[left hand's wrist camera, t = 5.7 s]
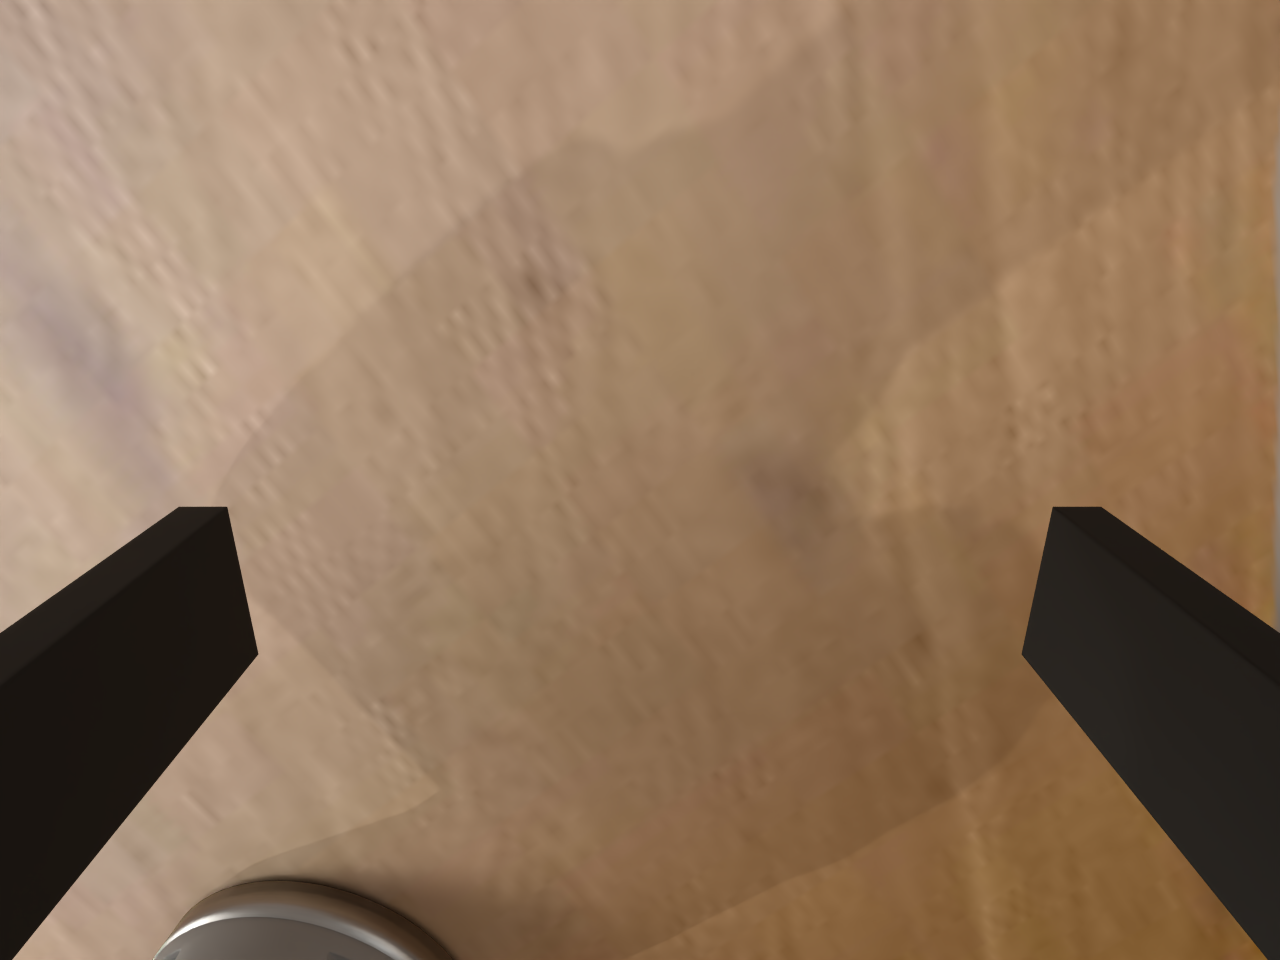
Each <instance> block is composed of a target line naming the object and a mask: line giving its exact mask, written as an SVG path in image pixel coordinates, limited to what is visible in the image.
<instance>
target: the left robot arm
mask: <svg viewBox="0 0 1280 960" xmlns="http://www.w3.org/2000/svg"><path fill="white" fill-rule="evenodd" d="M257 655H258V650H257V646H256V641H255V636H254V631H253V627H252V622H251V617H250V612H249V608H248V603H247V598H246V594H245V589H244V584H243V579H242V575H241V570H240V565H239V561H238V556H237V551H236V546H235V542H234V537H233V532H232V527H231V523H230V518H229V513H228V509H227V507H178V508H177V509H175V510H174V511H172V512H171V513H170V514H168V515H167V516H165V517H164V518H162V519H161V520H160V521H158V522H157V523H155V524H154V525H153V526H151V527H150V528H148V529H147V530H146V531H144V532H143V533H141V534H140V535H138V536H137V537H136V538H134V539H133V540H131V541H130V542H129V543H127V544H126V545H124V546H123V547H121V548H120V549H119V550H117V551H116V552H114V553H113V554H112V555H110V556H109V557H107V558H106V559H105V560H103V561H102V562H100V563H99V564H97V565H96V566H95V567H93V568H92V569H90V570H89V571H88V572H86V573H85V574H83V575H82V576H80V577H79V578H78V579H76V580H75V581H73V582H72V583H71V584H69V585H68V586H66V587H65V588H64V589H62V590H61V591H59V592H58V593H56V594H55V595H54V596H52V597H51V598H49V599H48V600H47V601H45V602H44V603H42V604H41V605H39V606H38V607H37V608H35V609H34V610H32V611H31V612H30V613H28V614H27V615H25V616H24V617H23V618H21V619H20V620H18V621H17V622H15V623H14V624H13V625H11V626H10V627H8V628H7V629H6V630H4V631H3V632H1V633H0V960H12V959H13V958H14V957H15V956H16V954H17V953H18V952H19V951H20V949H21V948H22V947H23V946H24V944H25V943H26V942H27V941H28V939H29V938H30V937H31V936H32V934H33V933H34V932H35V931H36V929H37V928H38V927H39V926H40V924H41V923H42V922H43V921H44V920H45V918H46V917H47V916H48V915H49V913H50V912H51V911H52V910H53V908H54V907H55V906H56V905H57V903H58V902H59V901H60V900H61V898H62V897H63V896H64V895H65V893H66V892H67V891H68V890H69V889H70V887H71V886H72V885H73V884H74V882H75V881H76V880H77V879H78V877H79V876H80V875H81V874H82V872H83V871H84V870H85V869H86V867H87V866H88V865H89V864H90V862H91V861H92V860H93V859H94V858H95V856H96V855H97V854H98V853H99V851H100V850H101V849H102V848H103V846H104V845H105V844H106V843H107V841H108V840H109V839H110V838H111V836H112V835H113V834H114V833H115V831H116V830H117V829H118V828H119V826H120V825H121V824H122V823H123V822H124V820H125V819H126V818H127V817H128V815H129V814H130V813H131V812H132V810H133V809H134V808H135V807H136V805H137V804H138V803H139V802H140V800H141V799H142V798H143V797H144V795H145V794H146V793H147V792H148V791H149V789H150V788H151V787H152V786H153V784H154V783H155V782H156V781H157V779H158V778H159V777H160V776H161V774H162V773H163V772H164V771H165V769H166V768H167V767H168V766H169V764H170V763H171V762H172V761H173V760H174V758H175V757H176V756H177V755H178V753H179V752H180V751H181V750H182V748H183V747H184V746H185V745H186V743H187V742H188V741H189V740H190V738H191V737H192V736H193V735H194V733H195V732H196V731H197V730H198V728H199V727H200V726H201V725H202V724H203V722H204V721H205V720H206V719H207V717H208V716H209V715H210V714H211V712H212V711H213V710H214V709H215V707H216V706H217V705H218V704H219V702H220V701H221V700H222V699H223V697H224V696H225V695H226V694H227V693H228V691H229V690H230V689H231V688H232V686H233V685H234V684H235V683H236V681H237V680H238V679H239V678H240V676H241V675H242V674H243V673H244V671H245V670H246V669H247V668H248V666H249V665H250V664H251V663H252V662H253V660H254V659H255V658H256V657H257ZM1022 655H1023V657H1024V658H1025V659H1026V660H1027V662H1028V663H1029V664H1030V665H1031V666H1032V668H1033V669H1034V670H1035V671H1036V673H1037V674H1038V675H1039V676H1040V678H1041V679H1042V680H1043V681H1044V683H1045V684H1046V685H1047V686H1048V688H1049V689H1050V690H1051V691H1052V693H1053V694H1054V695H1055V696H1056V697H1057V699H1058V700H1059V701H1060V702H1061V704H1062V705H1063V706H1064V707H1065V709H1066V710H1067V711H1068V712H1069V714H1070V715H1071V716H1072V717H1073V719H1074V720H1075V721H1076V722H1077V724H1078V725H1079V726H1080V727H1081V728H1082V730H1083V731H1084V732H1085V733H1086V735H1087V736H1088V737H1089V738H1090V740H1091V741H1092V742H1093V743H1094V745H1095V746H1096V747H1097V748H1098V750H1099V751H1100V752H1101V753H1102V755H1103V756H1104V757H1105V758H1106V760H1107V761H1108V762H1109V763H1110V764H1111V766H1112V767H1113V768H1114V769H1115V771H1116V772H1117V773H1118V774H1119V776H1120V777H1121V778H1122V779H1123V781H1124V782H1125V783H1126V784H1127V786H1128V787H1129V788H1130V789H1131V791H1132V792H1133V793H1134V794H1135V795H1136V797H1137V798H1138V799H1139V800H1140V802H1141V803H1142V804H1143V805H1144V807H1145V808H1146V809H1147V810H1148V812H1149V813H1150V814H1151V815H1152V817H1153V818H1154V819H1155V820H1156V822H1157V823H1158V824H1159V825H1160V826H1161V828H1162V829H1163V830H1164V831H1165V833H1166V834H1167V835H1168V836H1169V838H1170V839H1171V840H1172V841H1173V843H1174V844H1175V845H1176V846H1177V848H1178V849H1179V850H1180V851H1181V853H1182V854H1183V855H1184V856H1185V858H1186V859H1187V860H1188V861H1189V862H1190V864H1191V865H1192V866H1193V867H1194V869H1195V870H1196V871H1197V872H1198V874H1199V875H1200V876H1201V877H1202V879H1203V880H1204V881H1205V882H1206V884H1207V885H1208V886H1209V887H1210V889H1211V890H1212V891H1213V892H1214V893H1215V895H1216V896H1217V897H1218V898H1219V900H1220V901H1221V902H1222V903H1223V905H1224V906H1225V907H1226V908H1227V910H1228V911H1229V912H1230V913H1231V915H1232V916H1233V917H1234V918H1235V920H1236V921H1237V922H1238V923H1239V924H1240V926H1241V927H1242V928H1243V929H1244V931H1245V932H1246V933H1247V934H1248V936H1249V937H1250V938H1251V939H1252V941H1253V942H1254V943H1255V944H1256V946H1257V947H1258V948H1259V949H1260V951H1261V952H1262V953H1263V954H1264V956H1265V957H1266V958H1267V959H1268V960H1280V633H1279V632H1277V631H1276V630H1274V629H1273V628H1272V627H1270V626H1269V625H1267V624H1266V623H1265V622H1263V621H1262V620H1260V619H1259V618H1257V617H1256V616H1255V615H1253V614H1252V613H1250V612H1249V611H1248V610H1246V609H1245V608H1243V607H1242V606H1241V605H1239V604H1238V603H1236V602H1235V601H1233V600H1232V599H1231V598H1229V597H1228V596H1226V595H1225V594H1224V593H1222V592H1221V591H1219V590H1218V589H1216V588H1215V587H1214V586H1212V585H1211V584H1209V583H1208V582H1207V581H1205V580H1204V579H1202V578H1201V577H1200V576H1198V575H1197V574H1195V573H1194V572H1192V571H1191V570H1190V569H1188V568H1187V567H1185V566H1184V565H1183V564H1181V563H1180V562H1178V561H1177V560H1175V559H1174V558H1173V557H1171V556H1170V555H1168V554H1167V553H1166V552H1164V551H1163V550H1161V549H1160V548H1159V547H1157V546H1156V545H1154V544H1153V543H1151V542H1150V541H1149V540H1147V539H1146V538H1144V537H1143V536H1142V535H1140V534H1139V533H1137V532H1136V531H1134V530H1133V529H1132V528H1130V527H1129V526H1127V525H1126V524H1125V523H1123V522H1122V521H1120V520H1119V519H1118V518H1116V517H1115V516H1113V515H1112V514H1110V513H1109V512H1108V511H1106V510H1105V509H1103V508H1102V507H1053V509H1052V513H1051V518H1050V523H1049V527H1048V532H1047V537H1046V542H1045V546H1044V551H1043V556H1042V561H1041V565H1040V570H1039V575H1038V579H1037V584H1036V589H1035V594H1034V598H1033V603H1032V608H1031V612H1030V617H1029V622H1028V627H1027V631H1026V636H1025V641H1024V646H1023V650H1022ZM153 960H453V959H452V958H451V957H450V956H449V955H448V954H447V952H446V951H445V950H444V949H443V948H442V947H441V946H440V945H439V944H438V943H437V942H435V941H434V940H433V939H432V938H431V937H430V936H429V935H427V934H426V933H425V932H424V931H422V930H421V929H420V928H418V927H417V926H415V925H414V924H413V923H411V922H410V921H408V920H407V919H405V918H403V917H402V916H400V915H398V914H397V913H395V912H393V911H391V910H389V909H387V908H385V907H383V906H381V905H379V904H377V903H375V902H373V901H370V900H368V899H366V898H363V897H361V896H358V895H355V894H352V893H349V892H346V891H343V890H339V889H335V888H331V887H327V886H322V885H317V884H312V883H304V882H295V881H262V882H254V883H247V884H242V885H237V886H234V887H230V888H227V889H224V890H221V891H219V892H217V893H215V894H212V895H210V896H209V897H207V898H205V899H204V900H202V901H200V902H199V903H198V904H196V905H195V906H194V907H193V908H191V909H190V911H189V912H188V913H187V914H186V915H185V916H184V917H183V918H182V920H181V921H180V922H179V924H178V925H177V927H176V928H175V929H174V931H173V932H172V933H171V935H170V936H169V937H168V939H167V940H166V942H165V943H164V944H163V946H162V947H161V948H160V950H159V951H158V953H157V954H156V955H155V957H154V958H153Z"/></svg>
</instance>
